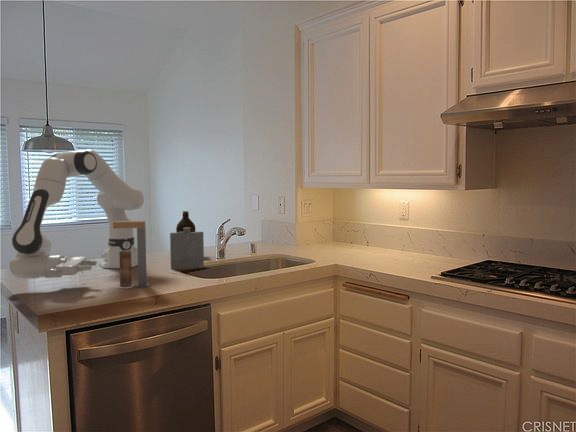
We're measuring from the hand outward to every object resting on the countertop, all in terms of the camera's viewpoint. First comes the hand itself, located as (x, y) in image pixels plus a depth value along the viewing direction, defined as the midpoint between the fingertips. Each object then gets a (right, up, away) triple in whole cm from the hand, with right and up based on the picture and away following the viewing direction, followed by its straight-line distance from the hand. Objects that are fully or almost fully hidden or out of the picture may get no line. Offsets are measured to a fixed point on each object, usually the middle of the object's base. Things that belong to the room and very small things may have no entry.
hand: (93, 265), depth 187 cm
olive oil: (+20, -3, +79) cm, 81 cm away
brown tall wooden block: (+12, -9, +3) cm, 15 cm away
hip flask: (+29, -6, +42) cm, 51 cm away
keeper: (+14, -9, +4) cm, 17 cm away
